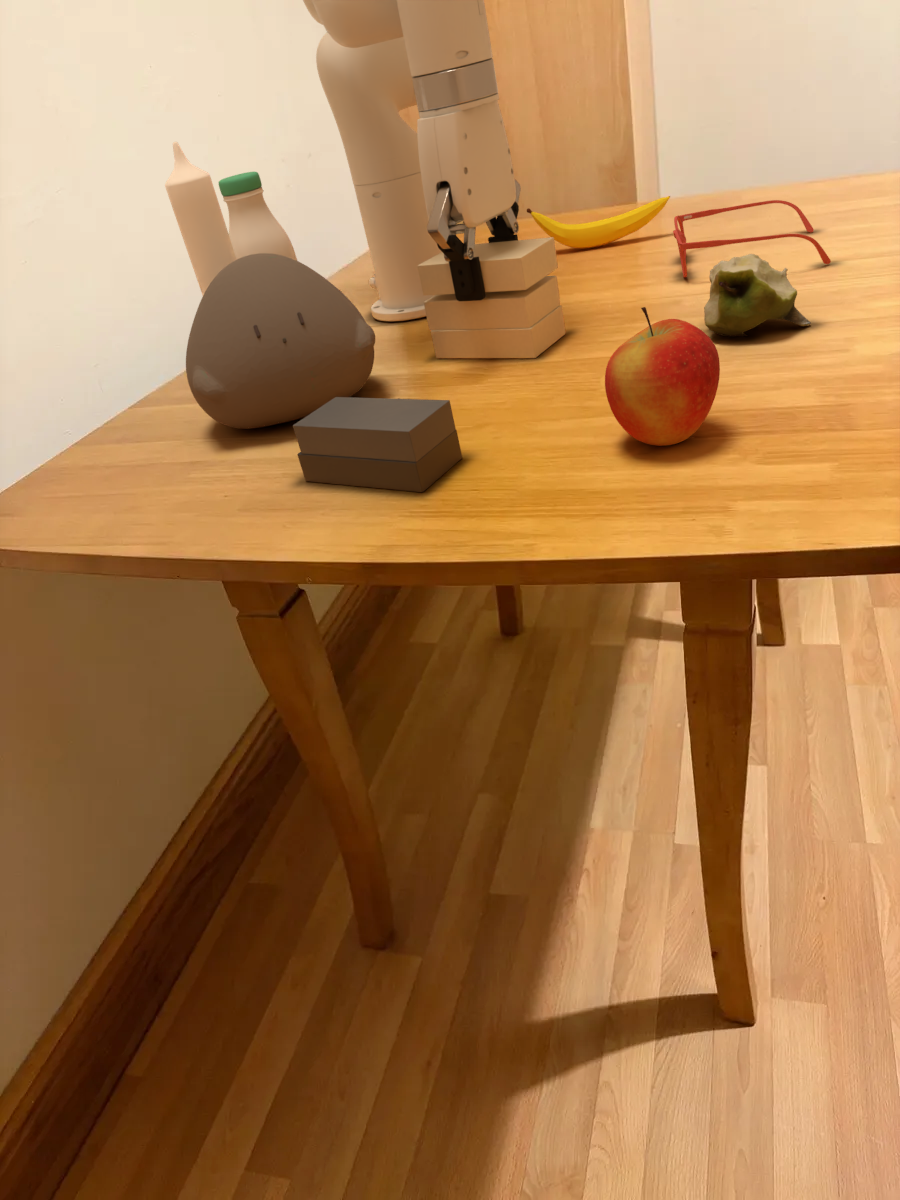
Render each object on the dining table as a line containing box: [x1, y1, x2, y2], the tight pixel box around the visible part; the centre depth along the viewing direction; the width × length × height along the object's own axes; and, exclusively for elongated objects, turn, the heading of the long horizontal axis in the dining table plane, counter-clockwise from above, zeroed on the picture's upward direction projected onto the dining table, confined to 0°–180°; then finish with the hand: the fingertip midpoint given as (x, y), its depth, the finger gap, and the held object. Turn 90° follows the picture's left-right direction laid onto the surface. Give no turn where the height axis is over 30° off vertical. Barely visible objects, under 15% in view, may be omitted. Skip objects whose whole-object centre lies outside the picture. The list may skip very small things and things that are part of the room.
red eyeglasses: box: [672, 199, 832, 278], centre depth 102 cm, size 17×16×5 cm
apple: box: [604, 306, 721, 447], centre depth 65 cm, size 8×8×10 cm
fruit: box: [703, 253, 812, 338], centre depth 82 cm, size 9×9×8 cm
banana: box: [526, 195, 671, 250], centre depth 121 cm, size 3×19×6 cm, turn 76°
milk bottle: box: [218, 171, 298, 261], centre depth 104 cm, size 8×8×20 cm
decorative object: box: [185, 253, 376, 430], centre depth 87 cm, size 18×18×15 cm
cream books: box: [424, 275, 566, 359], centre depth 93 cm, size 12×7×6 cm, turn 58°
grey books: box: [292, 396, 463, 493], centre depth 72 cm, size 12×6×5 cm, turn 58°
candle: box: [164, 141, 237, 296], centre depth 93 cm, size 7×7×25 cm
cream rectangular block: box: [417, 236, 559, 295], centre depth 90 cm, size 12×7×3 cm, turn 58°
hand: (490, 286), depth 91 cm, fingers closed on cream rectangular block, 7 cm apart
